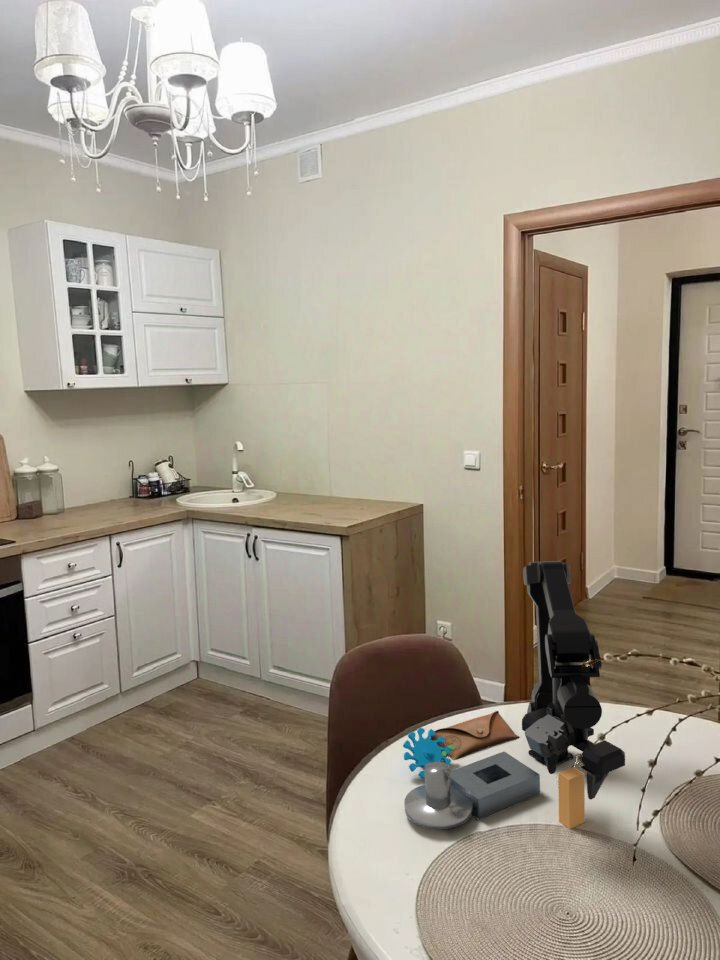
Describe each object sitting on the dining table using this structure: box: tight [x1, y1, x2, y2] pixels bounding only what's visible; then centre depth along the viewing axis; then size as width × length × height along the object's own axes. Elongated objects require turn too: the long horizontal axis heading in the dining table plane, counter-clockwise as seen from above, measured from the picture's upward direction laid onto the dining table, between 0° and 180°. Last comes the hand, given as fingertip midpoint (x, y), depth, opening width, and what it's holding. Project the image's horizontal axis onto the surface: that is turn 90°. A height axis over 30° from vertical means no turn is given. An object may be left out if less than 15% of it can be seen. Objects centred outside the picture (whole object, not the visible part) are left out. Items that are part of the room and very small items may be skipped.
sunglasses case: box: [430, 710, 520, 761], centre depth 157 cm, size 18×7×7 cm, turn 119°
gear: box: [402, 727, 454, 780], centre depth 147 cm, size 11×6×10 cm
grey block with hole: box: [403, 751, 541, 830], centre depth 134 cm, size 25×12×9 cm, turn 119°
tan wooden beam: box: [557, 766, 586, 830], centre depth 127 cm, size 4×2×9 cm
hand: (571, 785), depth 127 cm, fingers open, 9 cm apart
